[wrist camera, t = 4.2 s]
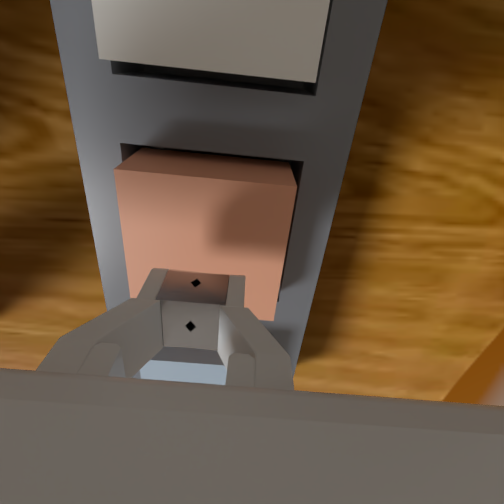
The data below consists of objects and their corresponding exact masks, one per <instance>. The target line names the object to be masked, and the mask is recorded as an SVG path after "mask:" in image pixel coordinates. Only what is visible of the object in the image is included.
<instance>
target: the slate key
mask: <svg viewBox="0 0 504 504" xmlns="http://www.w3.org/2000/svg"><path fill="white" fill-rule="evenodd" d="M140 375H141V379H152V380H165V381H178V382H192V383H205V384H218V385H225V383H226V375H227V369H226V368H225V366H224V364H223V362H222V360H221V358H220V356H219V354H218V351H215V350H205V349H196V348H183V347H164V346H163V348H162V349H161V350H160V351H159V352H158V353H157V354H156V355H155V356H154V357H153V358H152V359H151V360H150V361H149V362H148V363H146V364H145V365H144V366H143V367H142V368H141V369H140Z"/></svg>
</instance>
